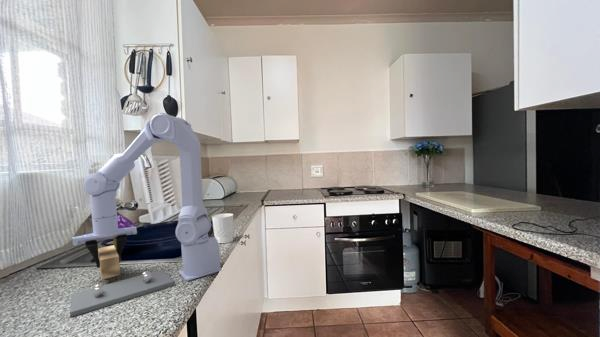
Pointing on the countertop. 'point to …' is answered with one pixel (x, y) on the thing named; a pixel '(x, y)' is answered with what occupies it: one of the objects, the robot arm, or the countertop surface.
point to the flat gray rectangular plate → (118, 291)
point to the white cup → (223, 227)
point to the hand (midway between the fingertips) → (108, 264)
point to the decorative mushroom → (123, 224)
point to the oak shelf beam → (109, 262)
